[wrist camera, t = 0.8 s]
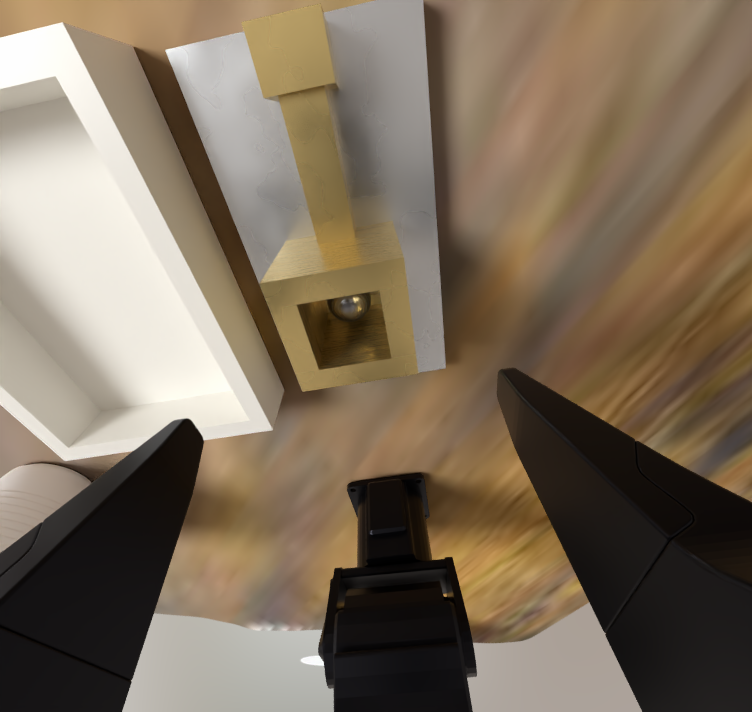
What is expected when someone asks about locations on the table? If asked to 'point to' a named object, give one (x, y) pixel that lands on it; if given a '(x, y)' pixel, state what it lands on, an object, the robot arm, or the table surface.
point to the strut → (327, 224)
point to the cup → (34, 497)
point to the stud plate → (357, 145)
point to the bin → (111, 262)
